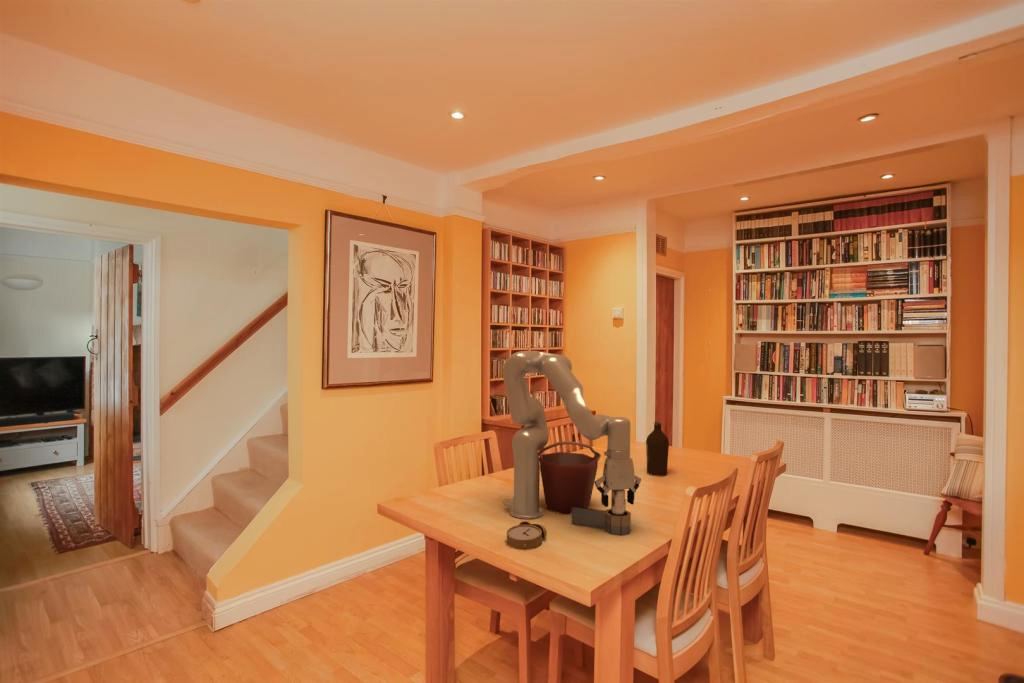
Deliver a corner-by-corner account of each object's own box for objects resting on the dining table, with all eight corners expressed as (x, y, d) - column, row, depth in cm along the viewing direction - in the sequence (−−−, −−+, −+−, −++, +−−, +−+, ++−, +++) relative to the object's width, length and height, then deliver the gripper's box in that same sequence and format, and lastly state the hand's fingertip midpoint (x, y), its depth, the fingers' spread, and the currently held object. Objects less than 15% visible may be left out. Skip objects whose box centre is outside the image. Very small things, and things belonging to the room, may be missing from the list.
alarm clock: (499, 535, 159) (523, 513, 171) (500, 550, 159) (524, 527, 172) (530, 544, 153) (553, 520, 165) (531, 559, 153) (554, 534, 166)
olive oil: (670, 472, 247) (671, 421, 247) (666, 477, 238) (666, 424, 238) (648, 469, 252) (649, 419, 252) (643, 474, 243) (644, 422, 243)
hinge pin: (609, 532, 170) (610, 490, 170) (612, 527, 174) (612, 487, 174) (623, 534, 168) (623, 492, 168) (625, 529, 172) (625, 488, 172)
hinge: (568, 528, 173) (569, 510, 173) (581, 509, 192) (581, 493, 192) (628, 536, 166) (628, 518, 166) (635, 516, 185) (635, 500, 185)
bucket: (601, 501, 202) (602, 439, 202) (595, 520, 180) (597, 450, 180) (541, 495, 208) (542, 435, 208) (529, 513, 187) (530, 445, 187)
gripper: (600, 458, 165) (600, 510, 165) (646, 455, 170) (646, 505, 171) (590, 453, 172) (589, 503, 172) (635, 450, 178) (634, 499, 178)
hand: (617, 504), depth 172 cm, fingers open, 9 cm apart
